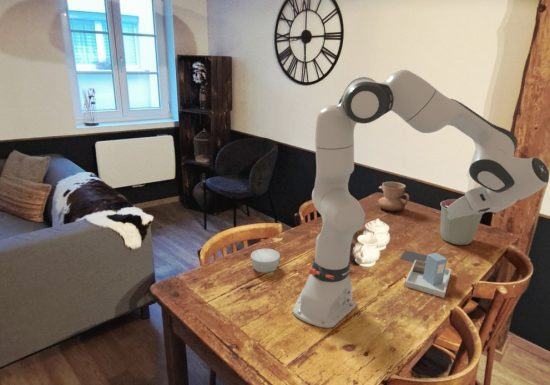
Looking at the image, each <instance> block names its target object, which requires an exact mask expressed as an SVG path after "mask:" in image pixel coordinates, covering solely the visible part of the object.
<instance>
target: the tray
mask: <svg viewBox="0 0 550 385" xmlns="http://www.w3.org/2000/svg"><path fill="white" fill-rule="evenodd" d="M417 261H418V260H417ZM415 262H416V260H415V261H414V262H412V266H411V268H410V270H409V272H408V275H407V276H406V279H405V281H404V287H406V288H410V289H412V290H416V291H419V292H424V293H426V294H430V295H434V296H436V297H440V298H445V295H446V292H447V288H448V284H449V282H450V281H449V280H450V277H451V274H452V273H451V272H452V269H451V268H448V267H445V272H444V277H443V282H442V283H441V284H437V285H434V286H433V285H431V284H430V283H428V282H427V281H425V280H424V279H423V274H420V273H417V272H413V268H414V264H415ZM421 262H422V261H421ZM425 263H426V261H425Z"/></svg>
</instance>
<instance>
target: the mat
mask: <svg viewBox="0 0 550 385" xmlns="http://www.w3.org/2000/svg"><path fill="white" fill-rule="evenodd" d="M426 257H427V254H422V253H418V252H415V251H414V252H413V251H412V250H411V251H410V250H406V249H405V250H404V251H403V253H402V254H401V257H400V258H399V259H400V260H403V261H406V262H410V263H414V261H415V260H418V261H422V262H426Z"/></svg>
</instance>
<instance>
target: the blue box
mask: <svg viewBox="0 0 550 385" xmlns="http://www.w3.org/2000/svg"><path fill="white" fill-rule="evenodd" d="M426 255H427V257H426V260H425V262H426V263H425V269H424V274H423V279H424V280H425V281H427V282H428V283H430V284H431V285H433V286H434V285H437V284H441V283H442V282H443V277H444V272H445V268H447V261H448V258H447V257H445V256H444V255H442V254H440V253H438V252H434V253H433V252H431V253H429V254H426Z"/></svg>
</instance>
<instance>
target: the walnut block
mask: <svg viewBox="0 0 550 385" xmlns="http://www.w3.org/2000/svg"><path fill="white" fill-rule="evenodd" d="M425 262H426V261H425ZM425 262H421V261H417V260H416V262H415V264H414V268H413V272H417V273H420V274H424V269H425Z"/></svg>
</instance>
